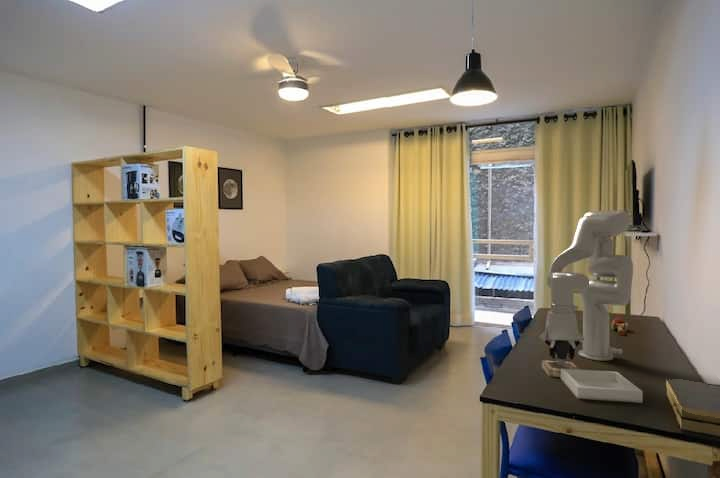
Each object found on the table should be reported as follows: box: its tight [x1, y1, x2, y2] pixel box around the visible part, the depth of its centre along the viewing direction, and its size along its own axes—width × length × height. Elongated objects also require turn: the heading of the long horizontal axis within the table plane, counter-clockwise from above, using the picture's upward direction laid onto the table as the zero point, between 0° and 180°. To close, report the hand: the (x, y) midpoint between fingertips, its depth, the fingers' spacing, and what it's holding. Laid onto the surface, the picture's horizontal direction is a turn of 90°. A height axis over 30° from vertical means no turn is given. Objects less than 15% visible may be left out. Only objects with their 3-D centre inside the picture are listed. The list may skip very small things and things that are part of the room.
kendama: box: [610, 317, 629, 336], centre depth 218 cm, size 8×6×18 cm
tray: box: [559, 368, 644, 404], centre depth 136 cm, size 18×18×4 cm
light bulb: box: [554, 340, 570, 366], centre depth 154 cm, size 6×6×10 cm
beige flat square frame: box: [541, 359, 580, 378], centre depth 153 cm, size 10×10×2 cm
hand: (561, 357), depth 154 cm, fingers closed on light bulb, 5 cm apart
